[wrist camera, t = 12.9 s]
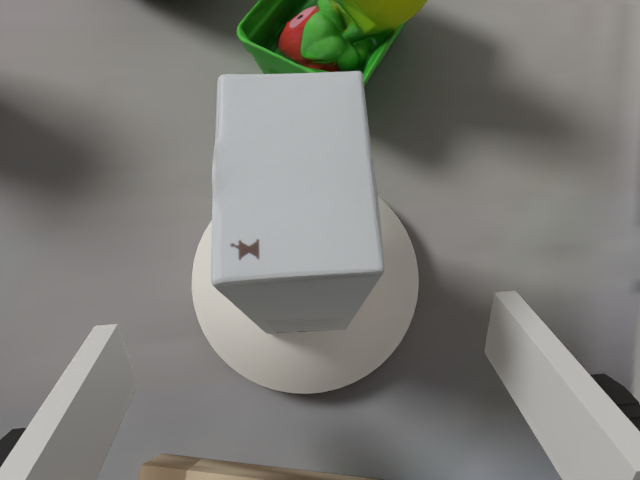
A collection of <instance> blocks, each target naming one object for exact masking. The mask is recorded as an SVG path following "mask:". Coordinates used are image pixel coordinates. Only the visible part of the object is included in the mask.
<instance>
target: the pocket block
mask: <svg viewBox="0 0 640 480" xmlns="http://www.w3.org/2000/svg"><path fill="white" fill-rule="evenodd" d="M138 480H381V479H373V478H364V477H356V476H347V475H339V474H330V473H322V472H313V471H305V470H296V469H288V468H279V467H271V466H262V465H254V464H246V463H237V462H229V461H220V460H212V459H203V458H195V457H186V456H178V455H169V454H161V455H159V456H157V457H155V458H153V459H151V460H149V461H148V462H146V463H144V464H142V465H141V469H140V474H139V478H138Z"/></svg>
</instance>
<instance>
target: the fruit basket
mask: <svg viewBox="0 0 640 480" xmlns="http://www.w3.org/2000/svg"><path fill="white" fill-rule="evenodd" d="M426 2H427V0H258V2H257V3H256V4H255V6H254V7H253V8H252V9H251V10H250V11H249V13H247V14H246V16H245V17H244V18H243V20H242V21H241V22H240V23H239V25H238V27H237V36H238V37H239V39H240V40H241V42H242V43H243V45H244V46H245V48H246V49H247V50H248V51H249V52H250V53H252V55H253V57H254V58H255V60H256V62H257V63H258V65H259V67H260V68H261V70H262V72H263V73H264V74H290V73H319V72H347V71H361V72H362V74H363V82H364V87H365V85H366V84H367V82H368V81H369V79H370V77H371V75H372V73H373V72H374V70H375V69H376V68H377V67H378V65H379V64H380V62H381V61H382V59H383V58H384V56H385V55H386V53H387V51H388V50H389V48H390V46H391V44H392V43H393V42H394V41H395V39H396V38H397V36H398V35H399V33H400V32H401V30H402V29H403V27H404V25H405V23H406V22H407V20H409V19H410V18H412V17H413V16H414V15H415V14H416V13H417V12H418V11H419V10H420V9H421V8H422V7H423V6H424V4H425V3H426Z"/></svg>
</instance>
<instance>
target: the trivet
mask: <svg viewBox="0 0 640 480" xmlns="http://www.w3.org/2000/svg"><path fill="white" fill-rule="evenodd" d="M378 203H379V213H380V222H381V234H382V247H383V257H384V267H385V269H384V273H383V275H382V276H381V277H380V279H379V280H378V282H377V283H376V285H375V286H374V288H373V290H372V291H371V292H370V294H369V295H368V297H367V298H366V300H365V302H364V303H363V304H362V306H361V307H360V309H359V311H358V312H357V314H356V315H355V316H354V318H353V319H352V321H351V322H350V324H349V325H348V327H347V328H346V329H345V330H327V331H311V332H296V333H272V334H267V333H265V332H264V331H263V330H262V329H261V328H259V327H258V326H257V325H256V324H255V323H254V322H253V321H252V320H251V319H249V318H248V317H247V316H246V315H245V314H244V313H243V312H242V311H241V310H240V309H238V308H237V307H236V306H235V305H234V304H233V303H232V302H231V301H230V300H228V299H227V298H226V297H225V296H224V295H223V294H221V293H220V292H219V291H218V290H217V289H216V288H215V287H214V286H213V285H212V283H211V246H212V221H211V222H210V224H209V225H208V227H207V229H206V230H205V232H204V234H203V236H202V239H201V241H200V243H199V246H198V248H197V252H196V256H195V259H194V264H193V271H192V295H193V303H194V308H195V311H196V315H197V319H198V321H199V323H200V326H201V328H202V330H203V333H204V335H205V336H206V338H207V340H208V341H209V343H210V344H211V346H212V347H213V349H214V350H215V351H216V352H217V354H218V355H219V356H220V357H221V358H222V359H223V360H224V361H225V362H226V363H227V364H228V365H229V366H230V367H231V368H232V369H234V370H235V371H237V372H238V373H239V374H241V375H242V376H244V377H245V378H247V379H249V380H251V381H253V382H255V383H257V384H259V385H261V386H264V387H267V388H270V389H273V390H277V391H283V392H288V393H301V394H310V393H321V392H326V391H331V390H335V389H339V388H342V387H344V386H347V385H349V384H352V383H354V382H356V381H358V380H360V379H361V378H363V377H365V376H367V375H368V374H370V373H371V372H372V371H374V370H375V369H376V368H378V367H379V366H380V365H381V364H382V363H383V362H384V361H385V360H386V359H387V358H388V357H389V356H390V355H391V354H392V353H393V352H394V350H395V349H396V348H397V346H398V345H399V344H400V342H401V341H402V339H403V337H404V335H405V333H406V332H407V330H408V328H409V325H410V323H411V320H412V318H413V315H414V311H415V307H416V303H417V298H418V288H419V277H418V266H417V260H416V255H415V252H414V249H413V245H412V242H411V240H410V238H409V236H408V233H407V231H406V229H405V228H404V226H403V225H402V223H401V221H400V220H399V218H398V217H397V216H396V214H395V213H394V212H393V211H392V209H391V208H390V207H389V206H388V205H387V204H386V203H385V202H384V201H383V200H382V199H381V198H379V197H378Z"/></svg>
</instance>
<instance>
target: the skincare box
mask: <svg viewBox="0 0 640 480" xmlns="http://www.w3.org/2000/svg"><path fill="white" fill-rule="evenodd" d="M212 188H213V202H212V246H211V283H212V285H213V286H214V287H215V288H216V289H217V290H218V291H219V292H220V293H221V294H223V295H224V296H225V297H226V298H227V299H228V300H230V301H231V302H232V303H233V304H234V305H235V306H236V307H237V308H238V309H240V310H241V311H242V312H243V313H244V314H245V315H246V316H247V317H248V318H249V319H251V320H252V321H253V322H254V323H255V324H256V325H257V326H258V327H259V328H261V329H262V330H263V331H264V332H265V333H267V334H272V333H296V332H311V331H327V330H345V329H346V328H347V327H348V325H349V324H350V322H351V321H352V319H353V318H354V316H355V315H356V314H357V312H358V311H359V309H360V307H361V306H362V304H363V303H364V302H365V300H366V298H367V297H368V295H369V294H370V292H371V291H372V290H373V288H374V286H375V285H376V283H377V282H378V280H379V279H380V277H381V276H382V275H383V273H384V269H385V267H384V257H383V247H382V234H381V222H380V213H379V203H378V194H377V187H376V180H375V173H374V166H373V159H372V151H371V143H370V134H369V125H368V117H367V108H366V100H365V91H364V82H363V74H362V72H361V71H347V72H319V73H290V74H222V75H221V76H220V77H219V78H218V82H217V112H216V136H215V149H214V155H213V163H212Z"/></svg>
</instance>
